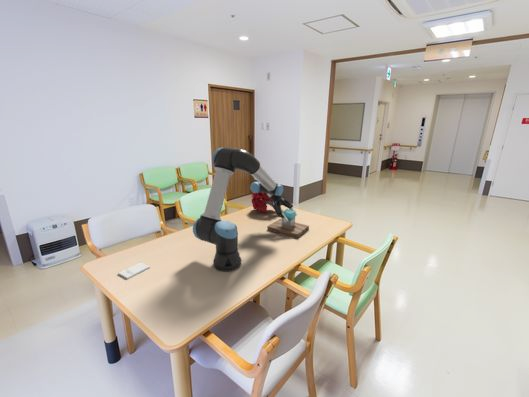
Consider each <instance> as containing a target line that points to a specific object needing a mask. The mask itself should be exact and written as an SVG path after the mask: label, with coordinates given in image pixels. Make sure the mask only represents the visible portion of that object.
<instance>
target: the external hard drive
mask: <svg viewBox="0 0 529 397" xmlns="http://www.w3.org/2000/svg"><path fill="white" fill-rule="evenodd" d="M150 268H151V267H150V266H149V265H148V264H146V263H144V262H141V261H140V262H138V263H135V264H134V265H132V266H130V267H128V268H125V269H124V270H122V271H121V270H120V271H119V272H118V273H117V274H118V276H120V277H123V279H126V280H129V279H131V278H133V277H135V276H137V275H139V274H142V273H143V272H145V271H147V270H149V269H150Z"/></svg>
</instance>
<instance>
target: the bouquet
mask: <svg viewBox="0 0 529 397" xmlns="http://www.w3.org/2000/svg"><path fill="white" fill-rule="evenodd" d="M251 203H252V208H253V210H256V211H257V212H261V213H263V214H266V213H267V212H268V211H267V209H268V206H271V207H272V208H273V210H274V211H275V209H274V206H273V204H272V203H273V202H272V200H271V199H270V197H269V196H268V195H267V194H266V193H261V192H258V193H253V192H252V194H251ZM281 211H282V212H283V211H284V210H283V209H282V208H281Z"/></svg>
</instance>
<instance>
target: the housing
mask: <svg viewBox="0 0 529 397" xmlns="http://www.w3.org/2000/svg"><path fill="white" fill-rule="evenodd" d="M282 213H283V214H284V215H285V216H286V218H287V219H288V221H287V222H286V223H285V221H284V220H283V219H282V218H281V219H282V227H286V228H290V229H291V228H292V227H293V226H295V222H296V216H295V213H297V212H296V210H294V211H293V210H289V208H287V209H285V210H283V212H282Z"/></svg>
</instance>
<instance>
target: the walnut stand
mask: <svg viewBox="0 0 529 397" xmlns="http://www.w3.org/2000/svg"><path fill="white" fill-rule="evenodd" d="M309 230H310V225H308V224H304V223H300V222H296V221H295V226H293V227H292V228H291V229H290V228H286V227H282V218H279V219H277V220H275V221H274V222H272V223H271V224H269V225H267V231H269V232H273V233H277V234H280V235H284V236H288V237H291V238H294V239H299V238H300V237H301V236H302V235H304V234H305V233H306V232H309Z"/></svg>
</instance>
